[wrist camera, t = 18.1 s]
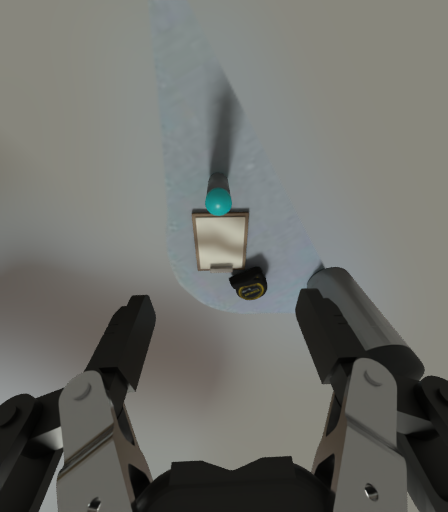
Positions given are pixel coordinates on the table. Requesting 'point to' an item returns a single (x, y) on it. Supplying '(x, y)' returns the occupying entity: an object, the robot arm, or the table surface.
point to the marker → (218, 195)
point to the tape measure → (249, 284)
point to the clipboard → (220, 241)
